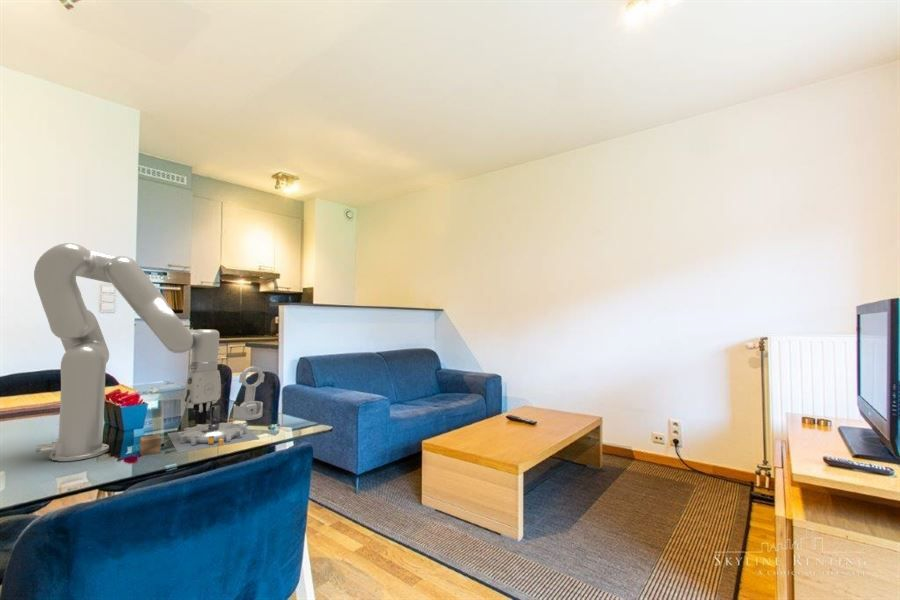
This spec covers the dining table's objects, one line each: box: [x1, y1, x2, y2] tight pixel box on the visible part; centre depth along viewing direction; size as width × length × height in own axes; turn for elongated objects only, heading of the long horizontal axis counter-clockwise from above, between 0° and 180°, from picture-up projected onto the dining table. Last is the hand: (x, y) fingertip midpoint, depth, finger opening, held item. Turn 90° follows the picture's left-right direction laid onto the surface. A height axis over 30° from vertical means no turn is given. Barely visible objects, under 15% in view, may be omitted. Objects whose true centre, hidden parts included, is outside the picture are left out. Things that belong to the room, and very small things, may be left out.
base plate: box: [166, 422, 260, 454], centre depth 134 cm, size 22×23×3 cm
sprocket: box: [178, 405, 247, 445], centre depth 134 cm, size 19×19×8 cm
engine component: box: [232, 365, 265, 421], centre depth 159 cm, size 11×20×10 cm
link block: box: [139, 433, 162, 456], centre depth 118 cm, size 4×4×6 cm
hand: (200, 423), depth 136 cm, fingers closed
